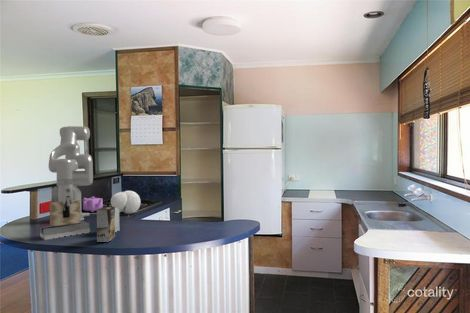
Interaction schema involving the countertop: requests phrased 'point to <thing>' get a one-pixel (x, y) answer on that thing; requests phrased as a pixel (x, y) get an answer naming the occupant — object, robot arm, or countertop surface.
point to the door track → (64, 230)
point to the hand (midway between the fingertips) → (65, 216)
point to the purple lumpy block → (92, 204)
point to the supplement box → (117, 220)
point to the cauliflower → (126, 202)
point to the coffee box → (105, 224)
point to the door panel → (57, 213)
